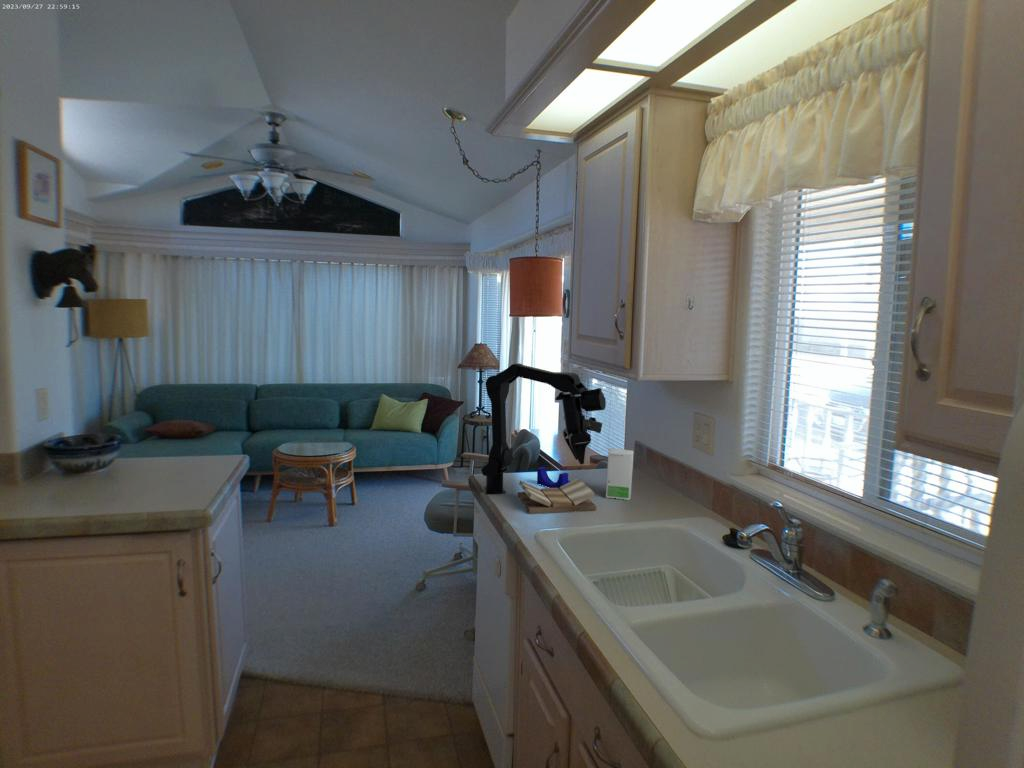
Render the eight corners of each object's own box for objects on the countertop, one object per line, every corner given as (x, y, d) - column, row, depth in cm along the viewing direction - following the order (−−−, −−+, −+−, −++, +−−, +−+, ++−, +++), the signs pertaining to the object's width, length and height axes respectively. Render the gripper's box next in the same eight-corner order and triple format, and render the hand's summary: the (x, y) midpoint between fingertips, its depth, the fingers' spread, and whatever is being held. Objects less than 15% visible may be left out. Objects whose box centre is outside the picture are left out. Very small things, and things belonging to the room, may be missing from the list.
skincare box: (605, 498, 199) (606, 452, 197) (606, 492, 205) (608, 447, 204) (631, 500, 197) (632, 453, 195) (632, 494, 203) (633, 449, 202)
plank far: (560, 490, 201) (559, 487, 201) (579, 481, 202) (577, 478, 202) (575, 505, 186) (573, 502, 185) (595, 495, 187) (593, 491, 186)
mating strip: (540, 492, 200) (540, 488, 200) (557, 491, 201) (557, 487, 201) (553, 507, 184) (553, 503, 184) (571, 506, 185) (572, 502, 185)
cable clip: (570, 489, 209) (571, 472, 208) (562, 492, 206) (562, 474, 205) (545, 482, 218) (546, 466, 217) (537, 484, 215) (537, 468, 214)
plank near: (518, 483, 198) (520, 480, 198) (537, 491, 200) (538, 488, 200) (529, 498, 182) (531, 494, 182) (549, 506, 184) (551, 503, 184)
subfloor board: (517, 496, 199) (517, 492, 199) (578, 493, 204) (578, 489, 203) (529, 514, 182) (529, 509, 182) (596, 510, 186) (596, 506, 186)
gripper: (604, 411, 181) (611, 462, 181) (592, 407, 199) (599, 453, 200) (567, 416, 180) (574, 468, 181) (559, 412, 199) (566, 458, 199)
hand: (579, 461), depth 190 cm, fingers open, 9 cm apart
